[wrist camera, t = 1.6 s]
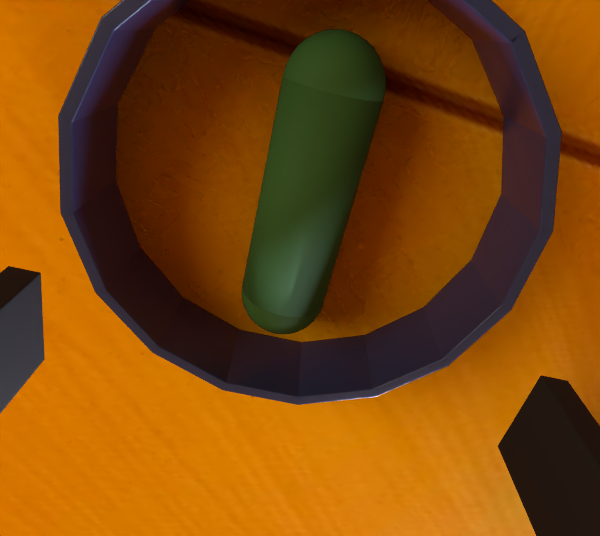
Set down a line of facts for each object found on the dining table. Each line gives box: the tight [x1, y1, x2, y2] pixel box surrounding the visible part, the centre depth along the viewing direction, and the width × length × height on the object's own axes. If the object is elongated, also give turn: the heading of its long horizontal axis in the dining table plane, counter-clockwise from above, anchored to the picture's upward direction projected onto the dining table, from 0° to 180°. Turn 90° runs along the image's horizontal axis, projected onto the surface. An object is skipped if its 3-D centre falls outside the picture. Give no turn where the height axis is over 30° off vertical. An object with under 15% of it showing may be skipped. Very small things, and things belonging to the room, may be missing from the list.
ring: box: [58, 0, 562, 405], centre depth 23 cm, size 22×22×5 cm
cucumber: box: [242, 29, 386, 334], centre depth 23 cm, size 16×5×5 cm, turn 167°
